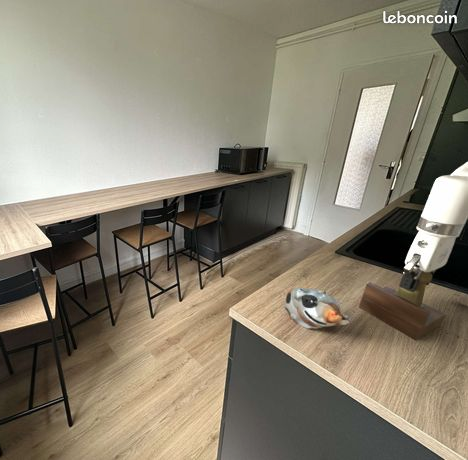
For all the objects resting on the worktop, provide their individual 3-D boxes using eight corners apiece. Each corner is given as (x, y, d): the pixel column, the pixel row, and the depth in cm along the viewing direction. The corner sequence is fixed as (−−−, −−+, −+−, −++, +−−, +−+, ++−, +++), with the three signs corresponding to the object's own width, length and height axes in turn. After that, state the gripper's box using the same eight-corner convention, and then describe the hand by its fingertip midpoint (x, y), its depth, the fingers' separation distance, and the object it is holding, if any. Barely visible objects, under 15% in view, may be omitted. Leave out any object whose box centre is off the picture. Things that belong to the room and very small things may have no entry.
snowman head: (342, 315, 74) (368, 296, 63) (325, 348, 69) (349, 334, 58) (293, 284, 81) (308, 263, 70) (274, 313, 76) (287, 294, 65)
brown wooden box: (382, 296, 81) (391, 272, 77) (440, 325, 69) (454, 299, 65) (358, 307, 77) (366, 282, 73) (415, 340, 65) (428, 313, 61)
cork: (390, 293, 76) (403, 261, 71) (417, 299, 73) (432, 267, 68) (394, 305, 71) (408, 272, 67) (423, 312, 68) (440, 278, 64)
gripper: (440, 238, 56) (412, 302, 63) (478, 225, 62) (448, 284, 69) (400, 227, 63) (378, 286, 70) (438, 215, 69) (414, 271, 76)
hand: (413, 285), depth 70 cm, fingers open, 6 cm apart
